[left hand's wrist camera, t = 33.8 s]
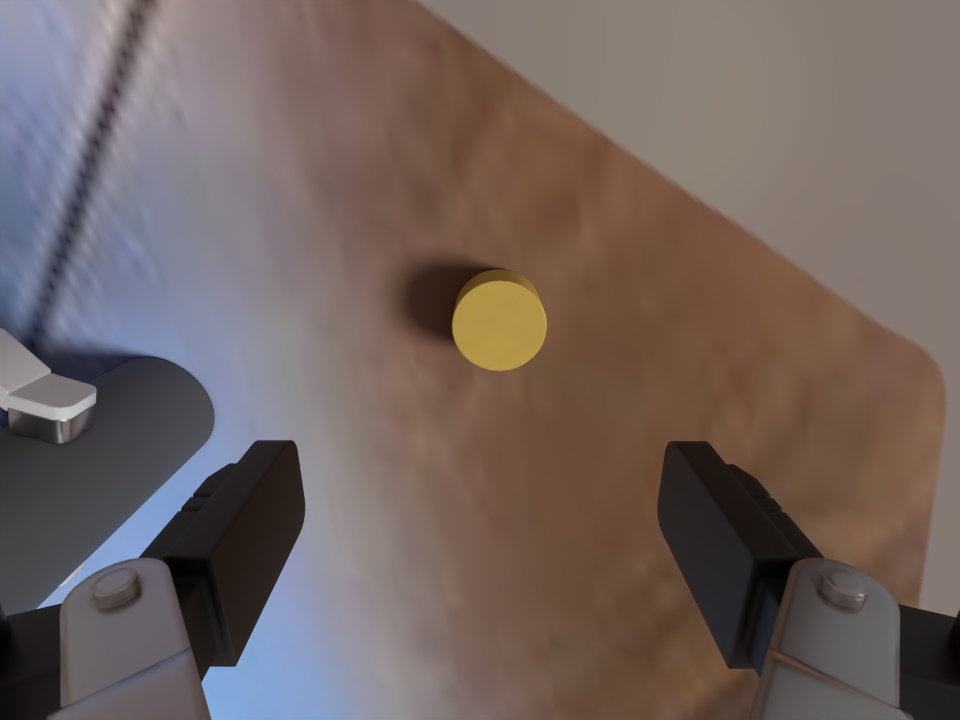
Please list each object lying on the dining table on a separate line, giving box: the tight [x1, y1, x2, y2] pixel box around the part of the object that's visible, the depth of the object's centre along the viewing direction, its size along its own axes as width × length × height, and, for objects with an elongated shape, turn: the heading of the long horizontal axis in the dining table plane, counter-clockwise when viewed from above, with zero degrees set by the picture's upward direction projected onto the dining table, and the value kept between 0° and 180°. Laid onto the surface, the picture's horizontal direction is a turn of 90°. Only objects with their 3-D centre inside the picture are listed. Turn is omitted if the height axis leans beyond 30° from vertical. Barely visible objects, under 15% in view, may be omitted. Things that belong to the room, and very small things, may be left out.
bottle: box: [0, 358, 214, 616], centre depth 17 cm, size 5×5×17 cm
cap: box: [452, 269, 547, 371], centre depth 22 cm, size 4×4×2 cm
